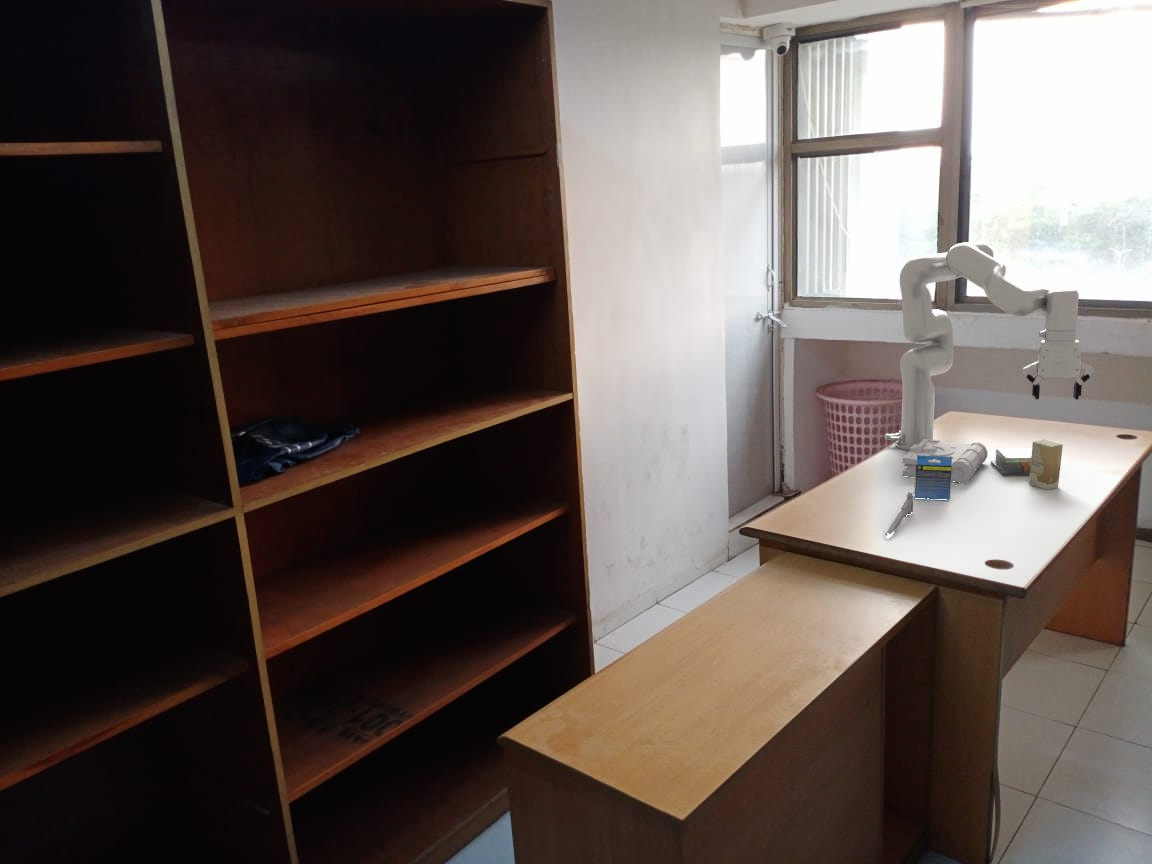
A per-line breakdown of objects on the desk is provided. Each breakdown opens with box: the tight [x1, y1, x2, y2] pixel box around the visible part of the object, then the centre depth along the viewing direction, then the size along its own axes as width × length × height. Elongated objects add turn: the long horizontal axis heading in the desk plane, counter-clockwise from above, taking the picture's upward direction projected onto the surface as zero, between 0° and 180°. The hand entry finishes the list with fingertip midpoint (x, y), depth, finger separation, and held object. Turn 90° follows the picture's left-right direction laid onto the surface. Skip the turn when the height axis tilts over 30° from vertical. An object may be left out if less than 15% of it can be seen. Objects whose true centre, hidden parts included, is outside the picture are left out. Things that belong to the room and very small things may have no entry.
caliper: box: [886, 492, 914, 534], centre depth 227 cm, size 20×1×6 cm, turn 145°
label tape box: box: [913, 455, 952, 500], centre depth 244 cm, size 9×4×12 cm, turn 72°
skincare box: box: [1028, 438, 1064, 491], centre depth 249 cm, size 6×4×12 cm
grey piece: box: [990, 447, 1032, 477], centre depth 265 cm, size 12×12×5 cm
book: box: [901, 439, 989, 484], centre depth 270 cm, size 19×28×8 cm
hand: (1056, 398), depth 251 cm, fingers open, 9 cm apart
